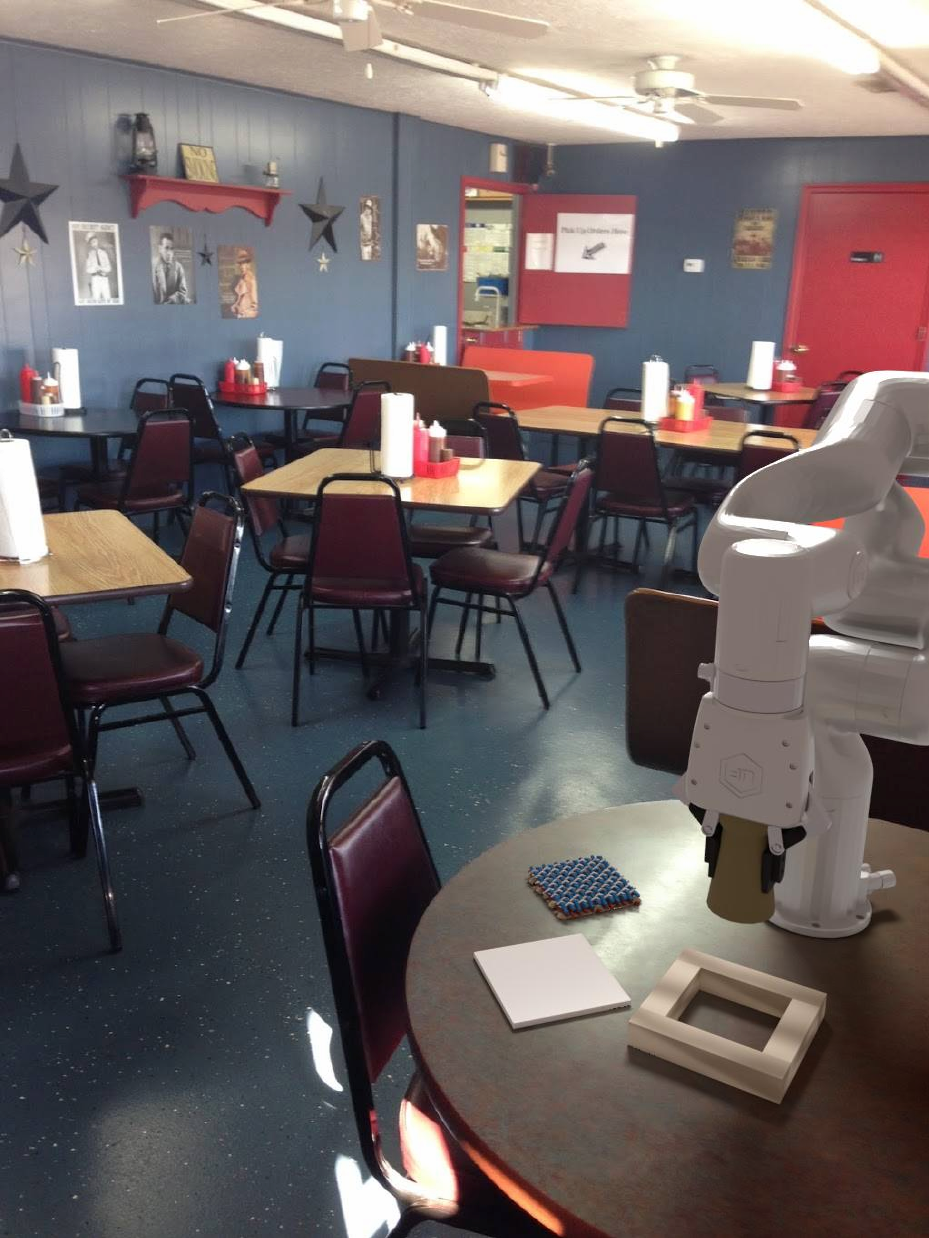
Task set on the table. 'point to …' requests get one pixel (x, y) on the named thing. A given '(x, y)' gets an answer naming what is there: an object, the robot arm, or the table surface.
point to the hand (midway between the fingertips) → (742, 876)
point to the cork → (740, 873)
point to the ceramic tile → (550, 980)
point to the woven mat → (582, 887)
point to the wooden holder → (717, 1055)
